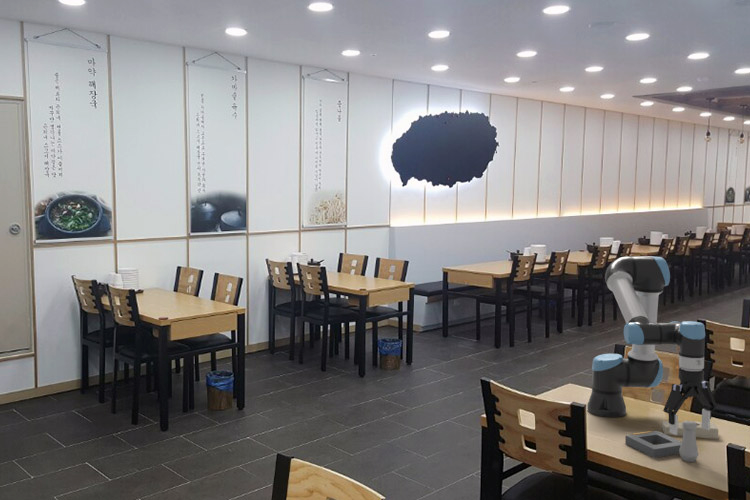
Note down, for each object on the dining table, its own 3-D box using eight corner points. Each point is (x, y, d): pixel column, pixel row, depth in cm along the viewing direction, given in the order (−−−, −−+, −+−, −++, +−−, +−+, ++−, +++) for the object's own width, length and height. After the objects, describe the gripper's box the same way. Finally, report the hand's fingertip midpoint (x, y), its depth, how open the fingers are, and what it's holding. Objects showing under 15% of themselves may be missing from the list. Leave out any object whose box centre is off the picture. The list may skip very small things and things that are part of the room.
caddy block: (625, 443, 238) (625, 434, 238) (656, 438, 242) (657, 430, 242) (653, 457, 225) (653, 448, 224) (686, 452, 229) (686, 443, 229)
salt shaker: (675, 456, 226) (676, 419, 225) (691, 455, 226) (692, 418, 225) (685, 463, 220) (686, 425, 219) (701, 462, 220) (702, 424, 219)
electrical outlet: (662, 418, 253) (714, 422, 248) (662, 428, 254) (714, 433, 249) (665, 424, 247) (718, 429, 242) (664, 435, 247) (718, 439, 242)
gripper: (669, 374, 213) (668, 439, 214) (729, 368, 221) (727, 430, 222) (652, 369, 220) (651, 431, 221) (711, 363, 228) (709, 423, 230)
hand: (689, 431), depth 222 cm, fingers open, 13 cm apart
